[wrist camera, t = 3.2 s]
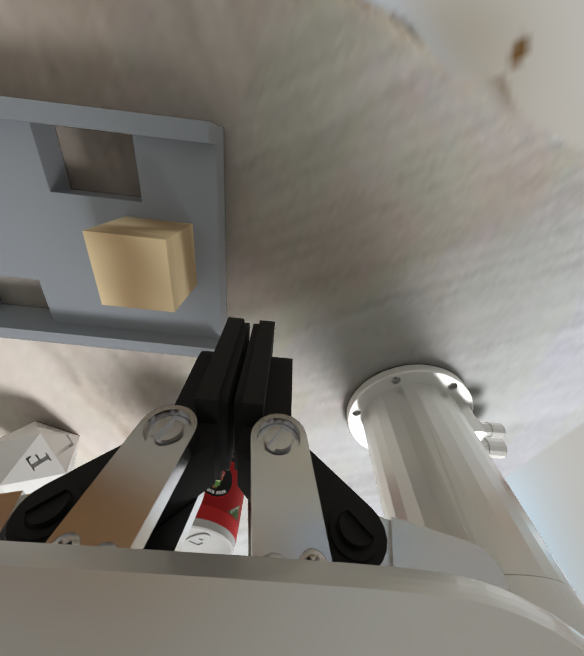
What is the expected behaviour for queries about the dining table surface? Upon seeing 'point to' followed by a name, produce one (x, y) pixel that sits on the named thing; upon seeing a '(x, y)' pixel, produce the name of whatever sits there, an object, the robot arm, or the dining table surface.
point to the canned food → (217, 517)
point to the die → (35, 457)
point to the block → (142, 262)
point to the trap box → (98, 208)
